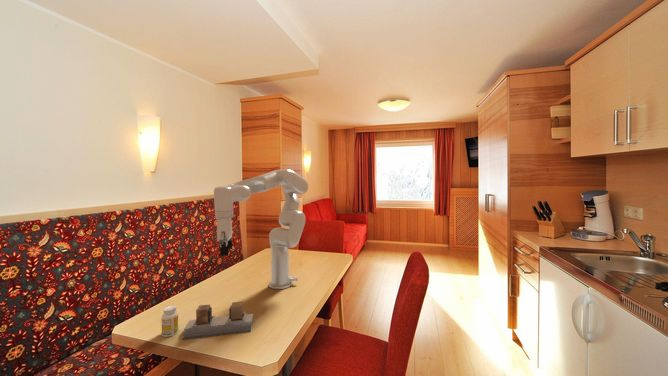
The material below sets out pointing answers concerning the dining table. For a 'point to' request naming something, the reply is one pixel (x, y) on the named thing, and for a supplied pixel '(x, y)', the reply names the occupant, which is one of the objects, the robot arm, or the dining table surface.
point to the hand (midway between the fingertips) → (226, 252)
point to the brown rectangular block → (203, 314)
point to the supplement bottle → (169, 321)
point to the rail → (221, 324)
